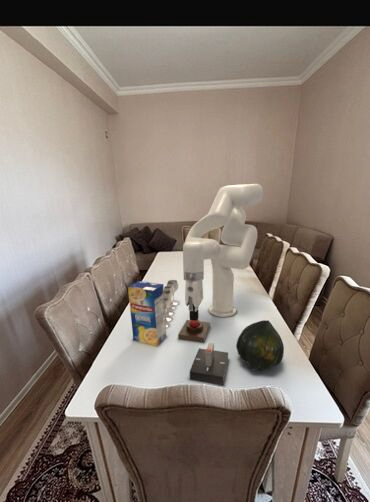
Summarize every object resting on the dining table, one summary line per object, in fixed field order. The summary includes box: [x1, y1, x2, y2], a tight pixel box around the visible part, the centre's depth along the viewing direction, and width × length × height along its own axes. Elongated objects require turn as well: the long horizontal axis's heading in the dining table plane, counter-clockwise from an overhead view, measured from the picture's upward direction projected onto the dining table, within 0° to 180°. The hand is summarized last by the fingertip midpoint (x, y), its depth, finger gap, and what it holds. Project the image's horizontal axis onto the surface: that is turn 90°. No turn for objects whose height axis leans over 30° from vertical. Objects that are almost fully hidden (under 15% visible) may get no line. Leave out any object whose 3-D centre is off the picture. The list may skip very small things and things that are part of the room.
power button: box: [189, 319, 200, 327], centre depth 99 cm, size 4×4×2 cm
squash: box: [235, 319, 285, 372], centre depth 80 cm, size 14×15×15 cm
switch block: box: [177, 319, 211, 344], centre depth 100 cm, size 12×10×4 cm
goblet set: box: [163, 279, 179, 329], centre depth 115 cm, size 28×6×13 cm, turn 172°
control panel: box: [189, 347, 229, 386], centre depth 79 cm, size 12×10×3 cm
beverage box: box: [127, 280, 167, 347], centre depth 94 cm, size 7×11×22 cm, turn 65°
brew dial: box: [206, 342, 215, 366], centre depth 78 cm, size 5×2×5 cm, turn 164°
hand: (194, 319), depth 98 cm, fingers closed
